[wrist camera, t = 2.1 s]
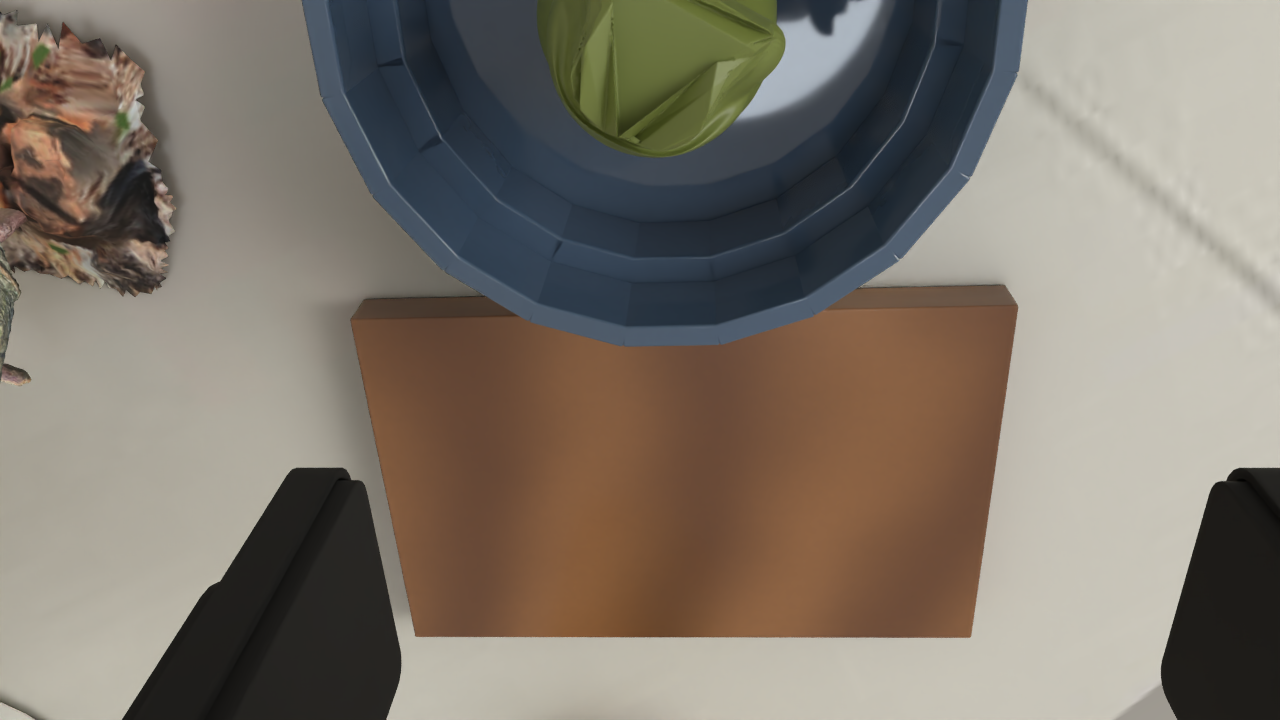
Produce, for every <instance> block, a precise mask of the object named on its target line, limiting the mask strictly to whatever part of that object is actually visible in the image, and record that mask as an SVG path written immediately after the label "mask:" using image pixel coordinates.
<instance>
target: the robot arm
mask: <svg viewBox="0 0 1280 720" xmlns="http://www.w3.org/2000/svg"><path fill="white" fill-rule="evenodd" d="M400 674H401V651H400V646H399V641H398V637H397V632H396V627H395V623H394V618H393V613H392V608H391V604H390V599H389V594H388V589H387V585H386V580H385V575H384V571H383V566H382V561H381V556H380V552H379V547H378V542H377V537H376V533H375V528H374V523H373V519H372V514H371V509H370V504H369V500H368V495H367V491H366V487H365V485H364V483H363V482H362V481H360V480H351V478H350V475H349V473H348V472H347V470H345V469H343V468H295V469H292V470H291V471H290V472H289V473H288V475H287V476H286V478H285V479H284V481H283V483H282V484H281V486H280V487H279V489H278V491H277V492H276V494H275V495H274V497H273V498H272V500H271V502H270V503H269V505H268V506H267V508H266V510H265V511H264V513H263V514H262V516H261V518H260V519H259V521H258V522H257V524H256V526H255V527H254V529H253V530H252V532H251V533H250V535H249V537H248V538H247V540H246V541H245V543H244V545H243V546H242V548H241V549H240V551H239V553H238V554H237V556H236V557H235V559H234V560H233V562H232V564H231V565H230V567H229V568H228V570H227V572H226V573H225V575H224V576H223V578H222V580H221V581H220V582H218V583H216V584H214V585H212V586H210V587H209V588H208V589H207V590H206V591H205V593H204V594H203V595H202V596H201V597H200V599H199V600H198V602H197V604H196V605H195V607H194V608H193V610H192V611H191V613H190V614H189V616H188V618H187V619H186V621H185V622H184V624H183V625H182V627H181V629H180V630H179V632H178V633H177V635H176V636H175V638H174V639H173V641H172V643H171V644H170V646H169V647H168V649H167V650H166V652H165V653H164V655H163V657H162V658H161V660H160V661H159V663H158V664H157V666H156V668H155V669H154V671H153V672H152V674H151V675H150V677H149V678H148V680H147V682H146V683H145V685H144V686H143V688H142V689H141V691H140V692H139V694H138V696H137V697H136V699H135V700H134V702H133V703H132V705H131V706H130V708H129V710H128V711H127V713H126V714H125V716H124V717H123V719H122V720H386V718H387V715H388V713H389V710H390V707H391V704H392V701H393V698H394V696H395V693H396V690H397V687H398V684H399V680H400ZM1161 680H1162V686H1163V690H1164V693H1165V696H1166V698H1167V700H1168V702H1169V704H1170V706H1171V708H1172V710H1173V712H1174V714H1175V716H1176V718H1177V720H1280V468H1238V469H1235V470H1233V471H1232V472H1231V474H1230V475H1229V476H1228V478H1227V480H1226V481H1220V482H1217V483H1215V484H1214V486H1213V487H1212V489H1211V491H1210V494H1209V497H1208V501H1207V504H1206V508H1205V511H1204V515H1203V518H1202V522H1201V525H1200V529H1199V532H1198V536H1197V539H1196V543H1195V546H1194V550H1193V554H1192V557H1191V561H1190V564H1189V568H1188V571H1187V575H1186V578H1185V582H1184V585H1183V589H1182V592H1181V596H1180V599H1179V603H1178V606H1177V610H1176V614H1175V617H1174V621H1173V624H1172V628H1171V631H1170V635H1169V638H1168V642H1167V645H1166V649H1165V652H1164V656H1163V659H1162V665H1161ZM0 720H35V719H34V718H32V717H30V716H29V715H27V714H26V713H23V712H21V711H19V710H17V709H15V708H13V707H10V706H8V705H6V704H4V703H2V702H0Z"/></svg>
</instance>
